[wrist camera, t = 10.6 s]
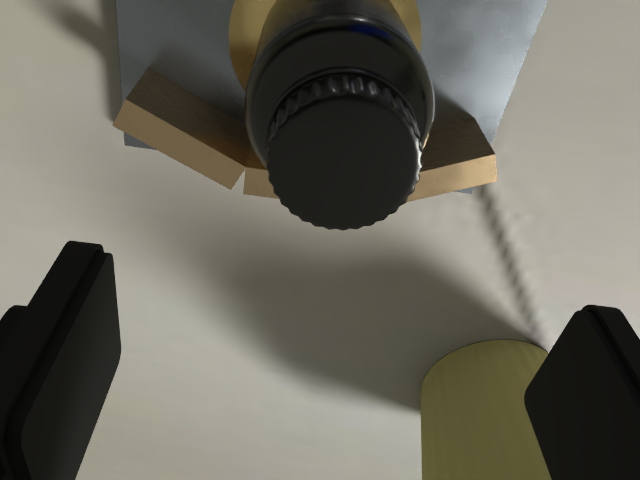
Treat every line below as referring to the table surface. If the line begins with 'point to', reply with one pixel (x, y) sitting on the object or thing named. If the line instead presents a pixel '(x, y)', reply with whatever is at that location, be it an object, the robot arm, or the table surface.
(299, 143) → the supplement bottle
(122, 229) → the table surface
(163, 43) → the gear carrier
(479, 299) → the table surface
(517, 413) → the potted cactus
